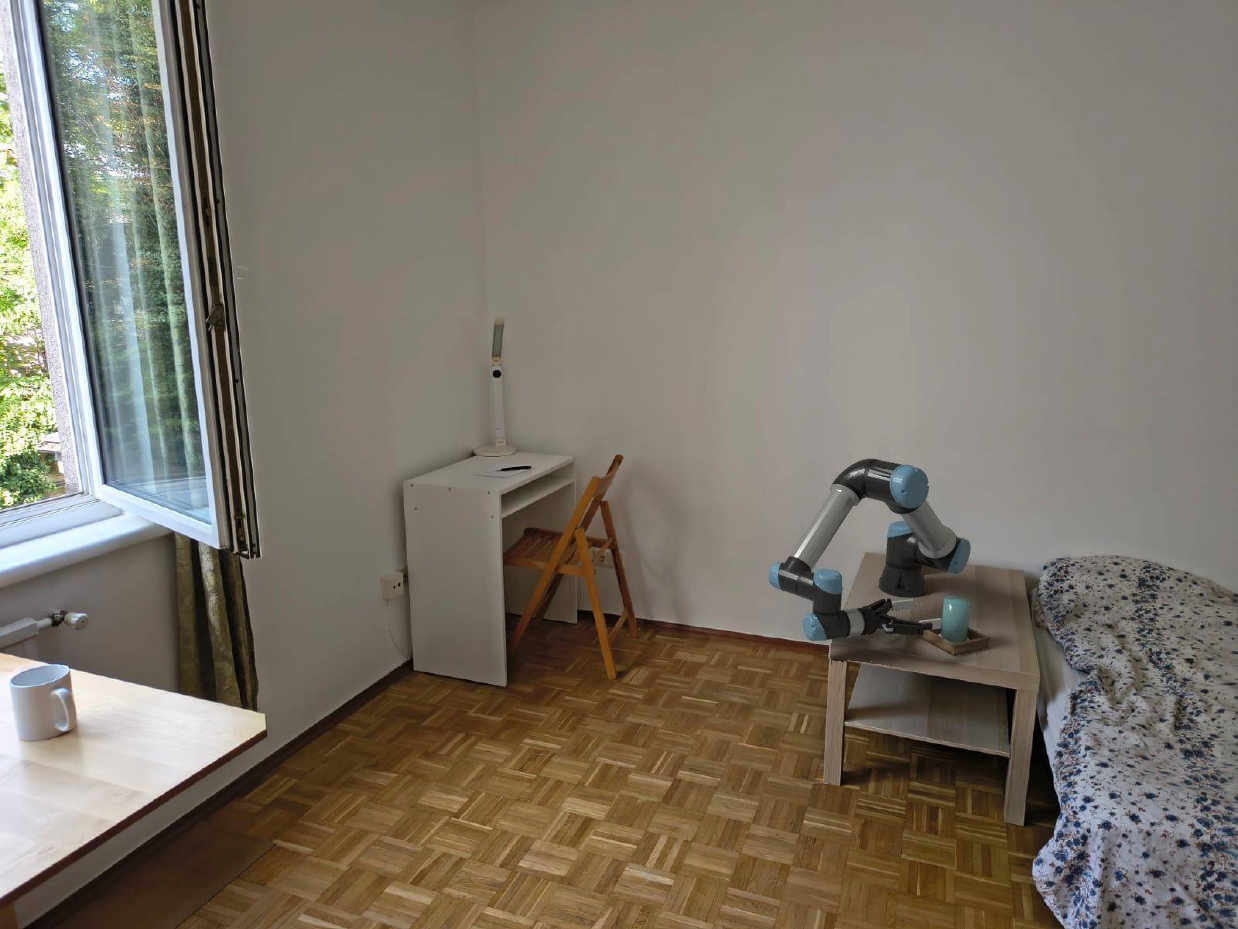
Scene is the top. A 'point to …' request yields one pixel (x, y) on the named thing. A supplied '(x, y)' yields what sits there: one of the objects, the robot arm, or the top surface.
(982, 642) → the walnut tray
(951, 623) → the teal cylinder
